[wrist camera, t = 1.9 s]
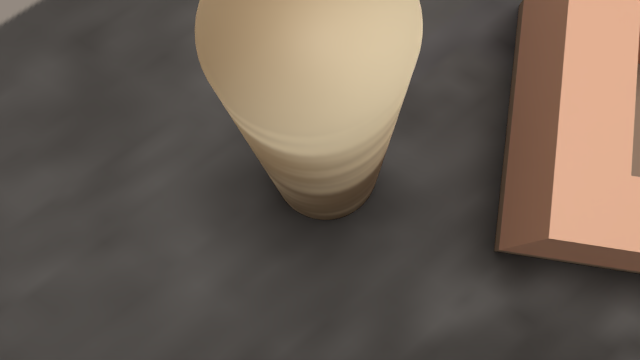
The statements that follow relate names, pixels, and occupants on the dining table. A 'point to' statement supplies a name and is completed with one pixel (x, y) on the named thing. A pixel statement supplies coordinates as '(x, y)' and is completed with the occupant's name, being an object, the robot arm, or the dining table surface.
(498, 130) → the dining table surface
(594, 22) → the socket block
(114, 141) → the dining table surface
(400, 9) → the birch dowel
